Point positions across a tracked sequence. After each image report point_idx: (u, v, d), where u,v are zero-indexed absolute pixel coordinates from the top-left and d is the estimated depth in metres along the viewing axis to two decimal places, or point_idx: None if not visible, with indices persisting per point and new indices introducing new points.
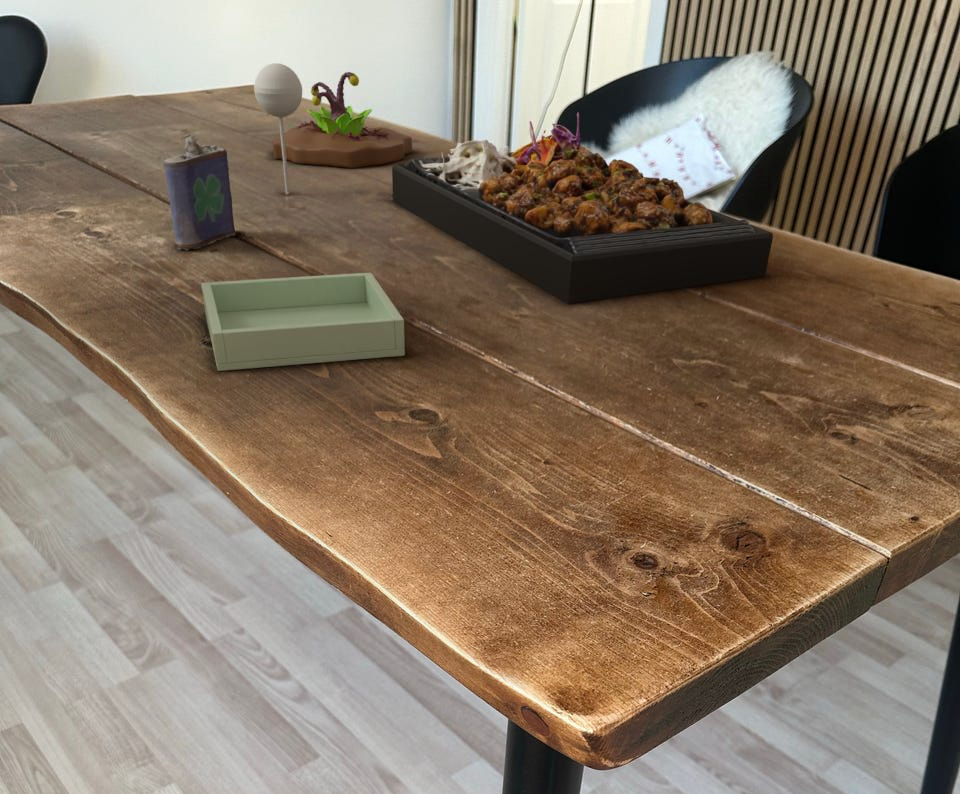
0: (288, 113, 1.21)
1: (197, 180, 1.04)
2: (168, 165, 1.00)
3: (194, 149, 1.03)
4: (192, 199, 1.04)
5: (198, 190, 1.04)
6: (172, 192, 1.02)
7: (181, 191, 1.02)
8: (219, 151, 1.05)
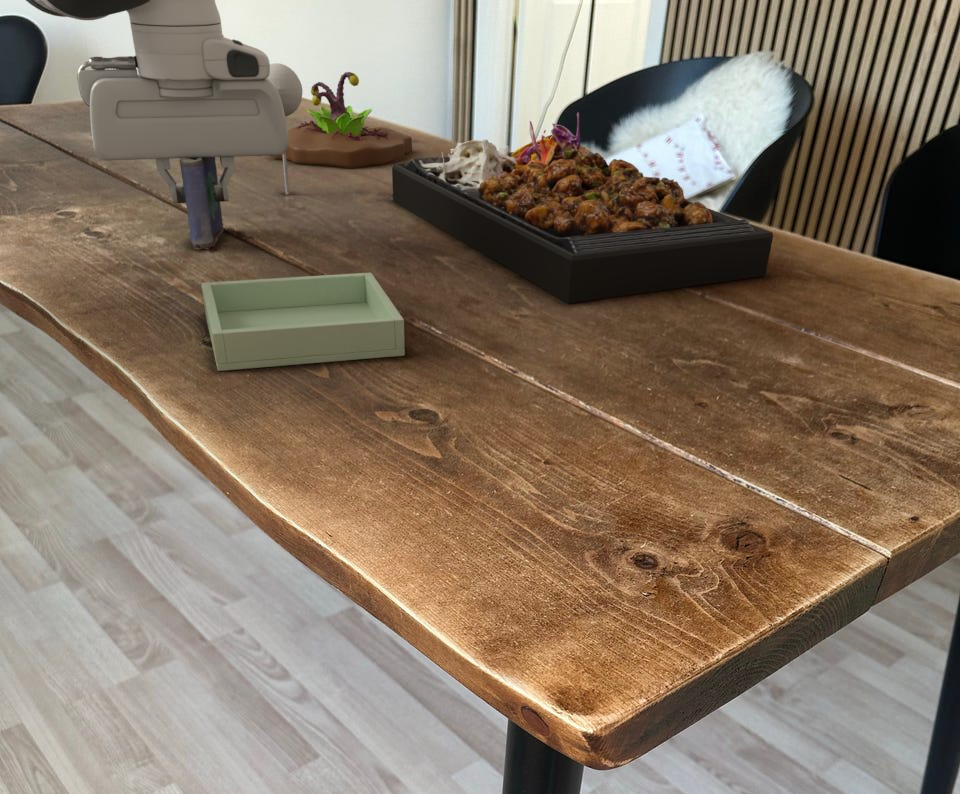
0: (288, 113, 1.21)
1: (205, 178, 1.05)
2: (189, 165, 1.01)
3: None
4: (207, 197, 1.04)
5: (206, 188, 1.05)
6: (193, 191, 1.02)
7: (202, 189, 1.03)
8: None
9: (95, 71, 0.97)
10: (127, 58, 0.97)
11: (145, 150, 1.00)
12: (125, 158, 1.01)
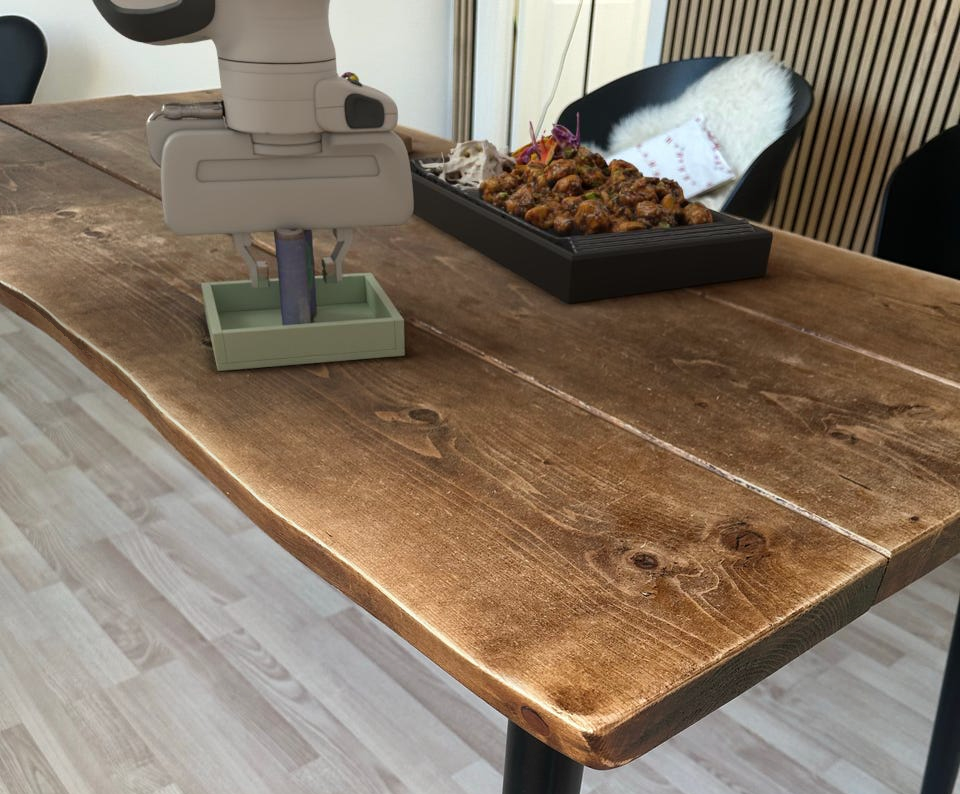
0: None
1: None
2: (289, 238, 0.77)
3: None
4: None
5: None
6: (292, 271, 0.78)
7: (303, 268, 0.79)
8: None
9: (169, 121, 0.73)
10: (212, 104, 0.73)
11: (231, 222, 0.77)
12: (205, 233, 0.77)
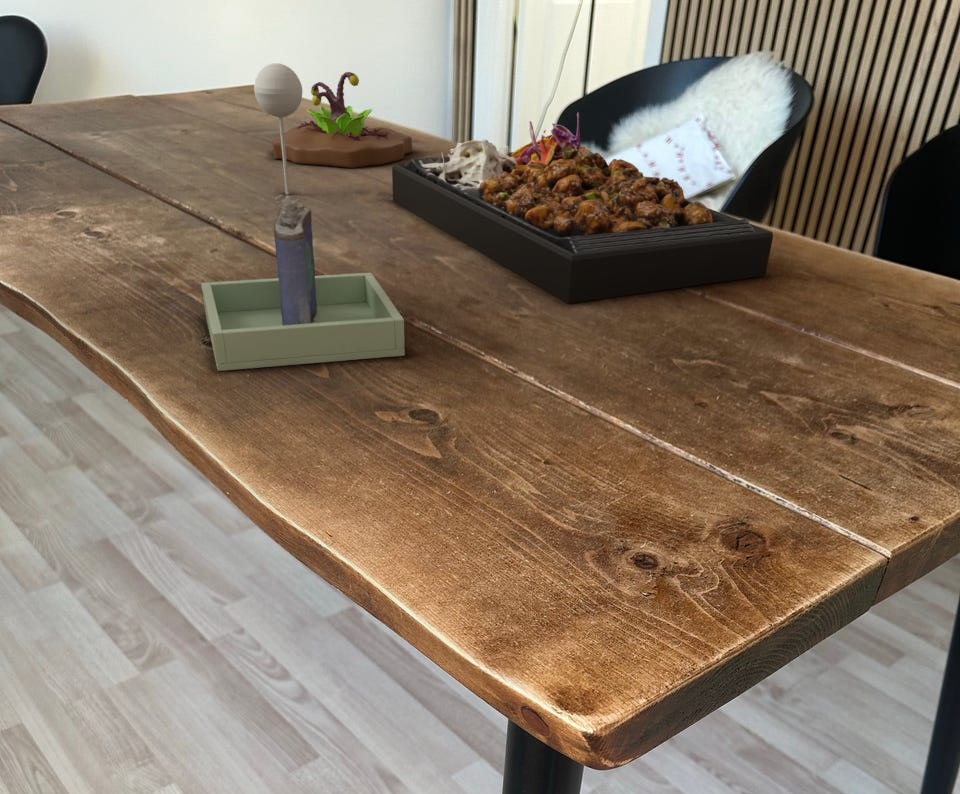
0: (288, 113, 1.21)
1: None
2: (289, 238, 0.77)
3: (296, 213, 0.80)
4: None
5: None
6: (292, 271, 0.78)
7: (303, 268, 0.79)
8: (309, 211, 0.83)
9: None
10: None
11: None
12: None
